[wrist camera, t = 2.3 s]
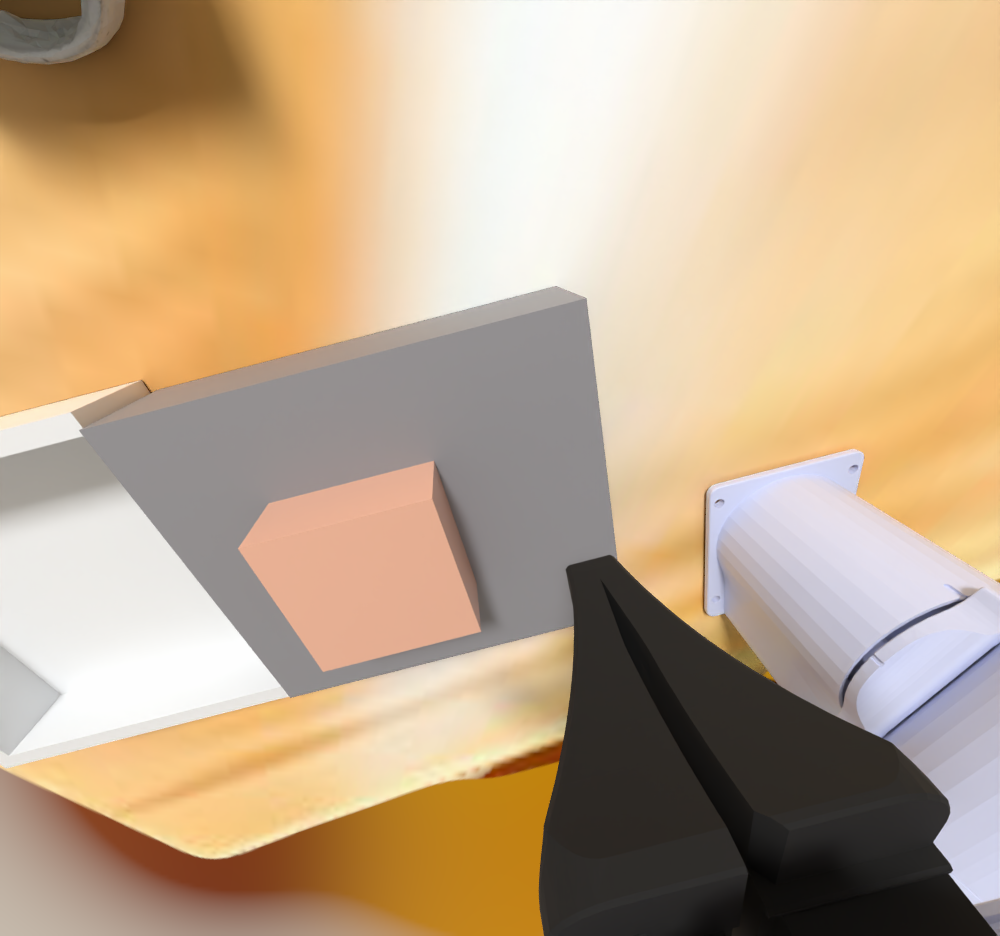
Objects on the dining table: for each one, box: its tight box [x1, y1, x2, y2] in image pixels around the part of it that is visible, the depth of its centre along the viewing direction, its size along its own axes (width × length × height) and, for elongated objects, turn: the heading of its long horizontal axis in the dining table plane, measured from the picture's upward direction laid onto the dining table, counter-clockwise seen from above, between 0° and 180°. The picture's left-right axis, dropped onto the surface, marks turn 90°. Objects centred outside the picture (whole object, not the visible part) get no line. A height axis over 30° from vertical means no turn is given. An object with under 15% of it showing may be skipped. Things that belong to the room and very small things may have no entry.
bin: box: [0, 380, 289, 768], centre depth 18 cm, size 15×14×4 cm
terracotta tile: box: [238, 461, 481, 672], centre depth 15 cm, size 6×6×2 cm
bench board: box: [79, 286, 617, 698], centre depth 18 cm, size 14×16×4 cm
